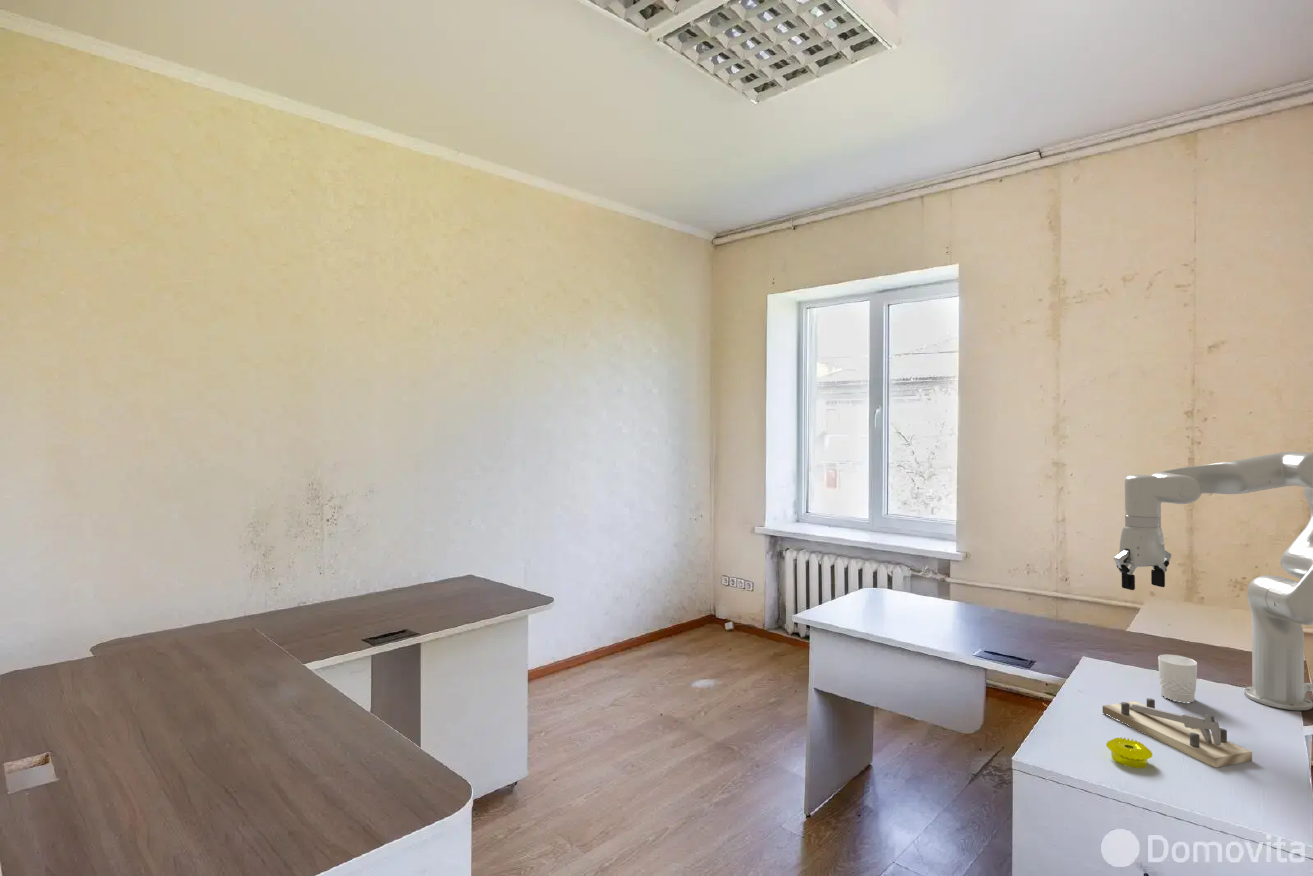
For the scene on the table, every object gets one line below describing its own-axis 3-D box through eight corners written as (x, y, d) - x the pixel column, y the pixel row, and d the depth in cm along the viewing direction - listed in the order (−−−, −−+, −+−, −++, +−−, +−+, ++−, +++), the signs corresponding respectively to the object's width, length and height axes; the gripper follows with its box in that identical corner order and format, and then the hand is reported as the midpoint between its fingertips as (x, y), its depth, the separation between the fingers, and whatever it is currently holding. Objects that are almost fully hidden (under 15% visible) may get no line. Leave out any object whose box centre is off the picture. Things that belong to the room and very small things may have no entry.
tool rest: (1135, 708, 162) (1135, 691, 162) (1252, 760, 136) (1251, 739, 136) (1102, 713, 159) (1102, 695, 159) (1215, 767, 134) (1215, 746, 134)
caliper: (1221, 747, 138) (1221, 718, 138) (1217, 748, 138) (1217, 719, 138) (1130, 707, 158) (1130, 682, 158) (1127, 708, 158) (1127, 682, 158)
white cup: (1191, 694, 169) (1191, 656, 169) (1202, 706, 162) (1201, 667, 162) (1154, 690, 173) (1154, 652, 172) (1163, 701, 165) (1162, 663, 165)
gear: (1133, 773, 133) (1162, 767, 135) (1133, 756, 133) (1162, 749, 135) (1097, 755, 140) (1124, 749, 143) (1097, 738, 140) (1124, 732, 143)
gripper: (1155, 518, 175) (1155, 581, 175) (1102, 522, 171) (1103, 586, 171) (1183, 522, 167) (1183, 588, 168) (1129, 526, 163) (1130, 593, 164)
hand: (1143, 587), depth 169 cm, fingers open, 9 cm apart
